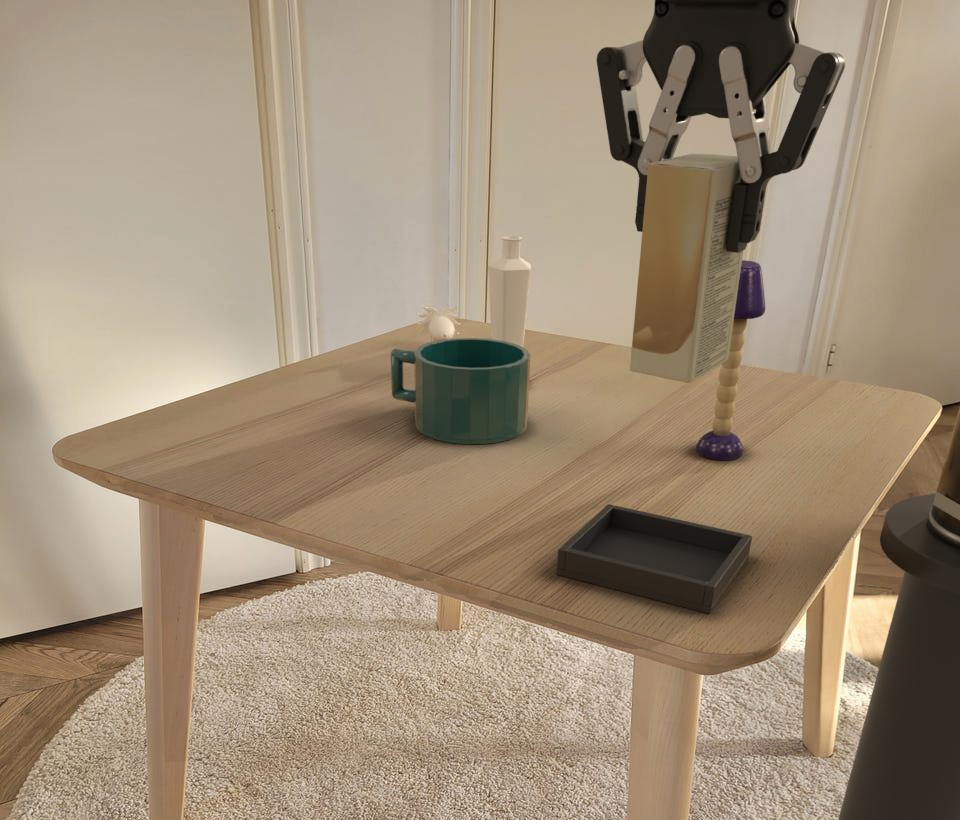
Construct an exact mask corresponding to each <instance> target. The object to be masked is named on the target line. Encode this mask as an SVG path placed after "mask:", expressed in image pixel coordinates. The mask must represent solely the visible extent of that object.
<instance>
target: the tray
mask: <svg viewBox="0 0 960 820" xmlns="http://www.w3.org/2000/svg"><path fill="white" fill-rule="evenodd" d="M752 539H753V535H750V534H746V533H745V534H744V533H742V532H737V531H732V530H727V529H725V528H724V529H723V528H719V527H714V526H711V525H706V524H702V523H697V522H692V521H688V520H682V519H678V518H675V517H669V516H665V515H662V514H661V515H660V514H656V513H652V512H646V511H642V510H638V509H633V508H629V507H624V506H619V505H615V504H610V503H607V504H606V505H605V506H603V508H602V509H601V510H600V511H598V512H597V513H596V514H595V515H594V516H593V517H592V518H591V519H589V521H587V522H586V523H585V524H584V525H583V526H582V527H581V528H580V529H579V530H577V532H575V533H574V534H573V535H572V536H571V537H570V538H569V539H568V540H567V541H566V542H565V543H564V544H563V545H562V546H560V547H559V548H558V549H557V561H556V562H557V563H556V575H557V576H560V577H565V578H569V579H572V580H577V581H581V582H585V583H587V584H592V585H597V586H600V587H604V588H608V589H613V590H616V591H619V592H624V593H627V594H632V595H634V596H640V597H643V598H647V599H651V600H655V601H659V602H662V603H667V604H670V605H674V606H678V607H681V608H686V609H690V610H694V611H697V612H701V613H705V614H712V612H713V610H715V608H716V606H717V605H718V603H719V602H720V601H721V599H723V596H724V595H725V594H726V592H727V591H728V589H729V588H730V586H731V585H732V584H733V582H734V580H735V579H736V578H737V576H738V575H739V573H740V572H741V571H742V569H743V568H744V566H745V565H746V563H747V562H749V557H750V551H751V545H752V541H753V540H752Z"/></svg>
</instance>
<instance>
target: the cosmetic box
mask: <svg viewBox="0 0 960 820" xmlns="http://www.w3.org/2000/svg"><path fill="white" fill-rule="evenodd" d="M740 179H741V175H740V169H739V163H738V157H737V155H725V154H715V153H688V154H684V155H679V156H675V157H674V156H673V158H670V159H666V160H662V161H657V162H653V163H649V164H648V174H647V186H646V197H645V207H644V218H643V230H642V232H641V242H640V255H639V265H638V266H639V267H638V276H637V286H636V287H637V288H636V298H635V309H634V310H635V311H634V321H633V329H632V330H633V331H632V341H631V350H630V351H631V352H630V362H629V363H630V364H629V371H630V372H633V373H638V374H643V375H646V376H652V377H657V378H662V379H667V380H671V381H675V382H680V383H687V384H690V383H693V382H694V381H696V380H698V379H700V378H701V377H703V376H705V375H706V374H708V373H709V372H711V371H713V370H715V369H717V368H718V367H720V366H722V363H724V362H726V361H727V360H728V357H729V350H730V342H731V335H732V328H733V321H734V314H735V306H736V299H737V292H738V285H739V278H740V271H741V264H742V260H743V257H744V256H743V255H744V250H743V251H741V252H740V253H735V252H727V250H726V245H727V237H728V230H729V223H730V215H731V208H732V201H733V193H734V186H735V184H737V183H740Z"/></svg>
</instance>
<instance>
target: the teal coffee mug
mask: <svg viewBox="0 0 960 820" xmlns="http://www.w3.org/2000/svg"><path fill="white" fill-rule="evenodd" d="M404 363H405V364H409V365H410V364H411V365H413V371H414V373H413V374H414V376H413V377H414V379H413V380H414V381H413V382H414V389H409V388H405V385H404ZM530 372H531V353H530V352H529V350H528V349H527V348H525V347H524V346H523V347H521V346H519V345H516V344H513V343H509V342H506V341H499V340H493V339H492V338H482V337H481V338H480V337H478V338H477V337H456V338H452V339H445V340H439V341H436V340H435V341H434V342H430V341H429V342H427V343H424V344H422V345H419V346H417V348H416V349H415V350H409V349H403V348H398V347H397V348H393V349H392V350H391V351H390V375H391V376H390V380H391V384H390V385H391V397H392V398H393V399H394V400H396V401H397V400H398V401H401V402H402V401H403V402H408V403H414V420H415V427H416V429H417V431H418V432H419V433H421V434H422V435H424V436H426V437H428V438H430V439H433V440H437V441H440V442H444V443H451V444H459V445H488V444H496V443H503V442H506V441H510V440H513V439H515V438H517V437H519V436H521V435H522V434H524V433H525V431H526V429H527V425H528V419H529V417H528V415H529V394H530V375H531V373H530Z"/></svg>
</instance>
